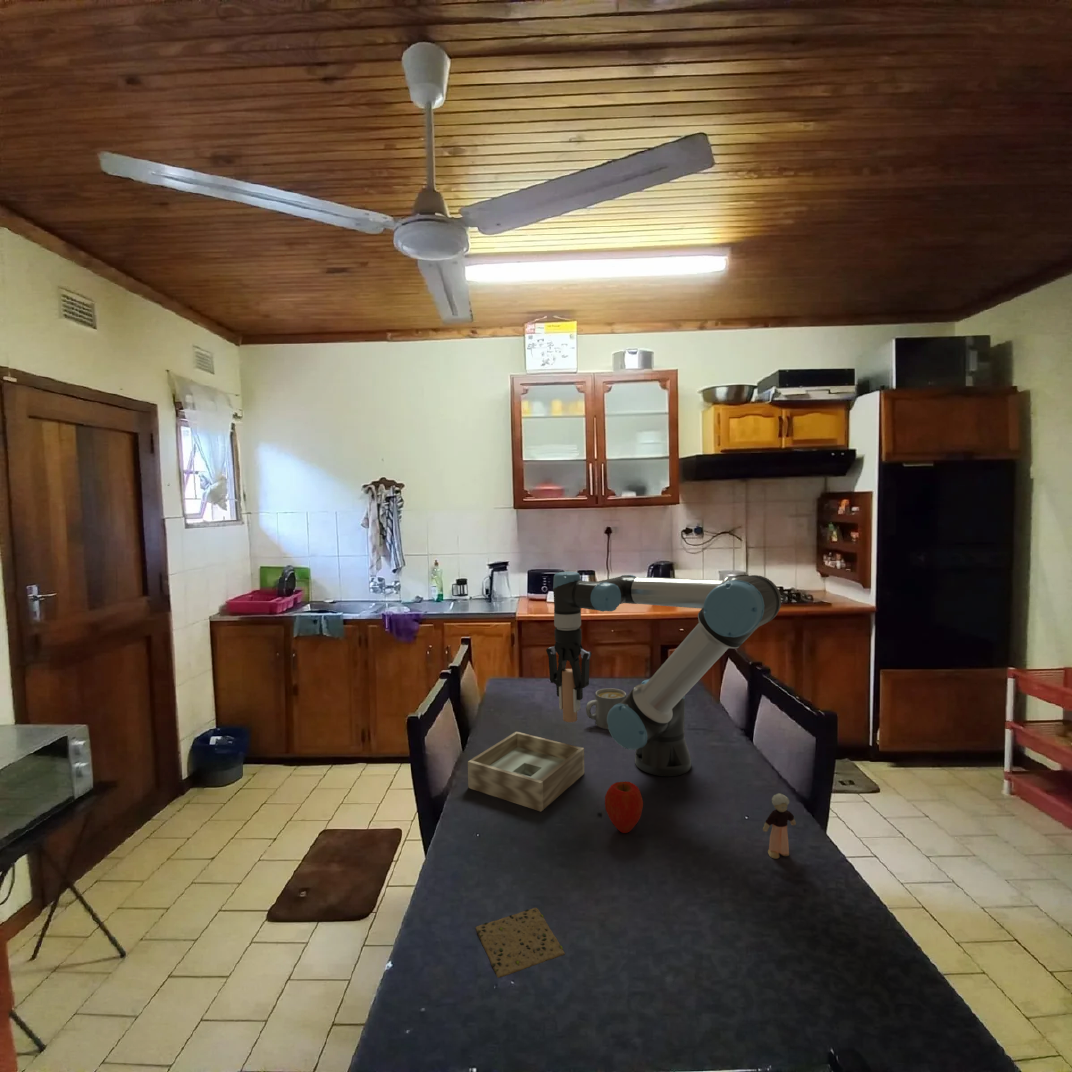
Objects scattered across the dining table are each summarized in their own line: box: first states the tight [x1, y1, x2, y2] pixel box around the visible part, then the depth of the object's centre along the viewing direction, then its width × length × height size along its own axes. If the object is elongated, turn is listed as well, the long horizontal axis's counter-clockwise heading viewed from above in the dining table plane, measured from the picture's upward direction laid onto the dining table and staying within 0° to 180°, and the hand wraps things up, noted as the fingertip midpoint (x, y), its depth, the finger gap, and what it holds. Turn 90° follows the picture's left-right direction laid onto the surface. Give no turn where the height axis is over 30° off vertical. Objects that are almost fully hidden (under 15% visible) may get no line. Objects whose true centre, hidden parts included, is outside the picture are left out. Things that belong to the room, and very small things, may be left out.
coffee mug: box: [585, 687, 627, 730], centre depth 191 cm, size 13×10×10 cm
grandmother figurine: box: [762, 792, 797, 859], centre depth 121 cm, size 8×4×13 cm, turn 117°
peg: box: [562, 668, 578, 723], centre depth 165 cm, size 4×4×14 cm
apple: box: [604, 781, 644, 834], centre depth 130 cm, size 9×8×11 cm
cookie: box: [475, 907, 566, 979], centre depth 99 cm, size 12×12×1 cm
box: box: [467, 731, 585, 812], centre depth 154 cm, size 22×22×7 cm
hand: (569, 709), depth 165 cm, fingers closed on peg, 4 cm apart
